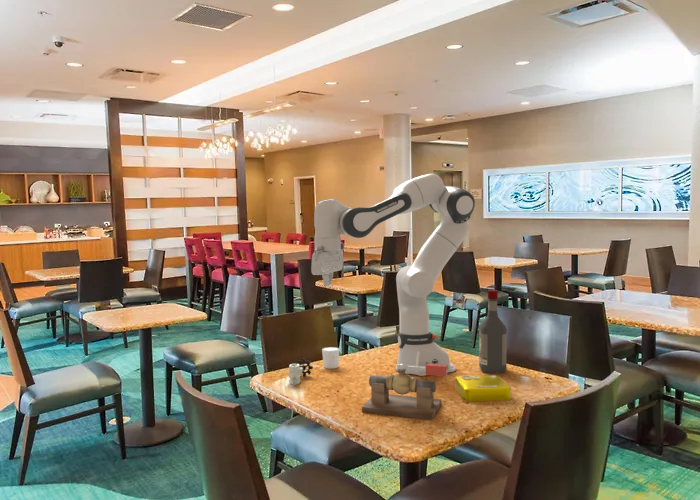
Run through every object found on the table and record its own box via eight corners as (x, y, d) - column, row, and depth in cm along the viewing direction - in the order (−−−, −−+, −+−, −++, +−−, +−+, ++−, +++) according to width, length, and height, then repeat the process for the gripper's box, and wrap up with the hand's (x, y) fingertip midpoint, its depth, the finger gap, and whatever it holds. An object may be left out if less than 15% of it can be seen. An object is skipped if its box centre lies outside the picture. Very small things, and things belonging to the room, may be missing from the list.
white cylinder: (326, 369, 211) (326, 351, 210) (319, 365, 217) (319, 348, 216) (342, 367, 214) (342, 349, 213) (335, 363, 220) (334, 346, 220)
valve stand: (376, 397, 177) (375, 362, 177) (441, 404, 170) (441, 367, 169) (361, 411, 164) (361, 374, 164) (431, 419, 157) (431, 380, 156)
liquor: (502, 366, 211) (502, 288, 210) (507, 373, 202) (507, 292, 201) (478, 366, 212) (478, 289, 211) (482, 373, 203) (482, 292, 202)
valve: (301, 385, 191) (313, 376, 203) (301, 367, 191) (312, 358, 202) (283, 384, 193) (296, 375, 205) (283, 365, 193) (296, 357, 204)
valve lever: (447, 374, 163) (447, 364, 163) (445, 376, 160) (445, 367, 160) (398, 369, 168) (398, 360, 168) (395, 372, 166) (395, 363, 165)
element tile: (465, 403, 172) (465, 387, 172) (453, 388, 187) (453, 374, 187) (512, 401, 173) (512, 386, 173) (497, 387, 188) (497, 373, 188)
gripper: (323, 247, 181) (324, 289, 182) (346, 244, 201) (346, 282, 201) (306, 247, 184) (307, 288, 184) (330, 244, 203) (330, 282, 204)
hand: (327, 285), depth 193 cm, fingers closed
